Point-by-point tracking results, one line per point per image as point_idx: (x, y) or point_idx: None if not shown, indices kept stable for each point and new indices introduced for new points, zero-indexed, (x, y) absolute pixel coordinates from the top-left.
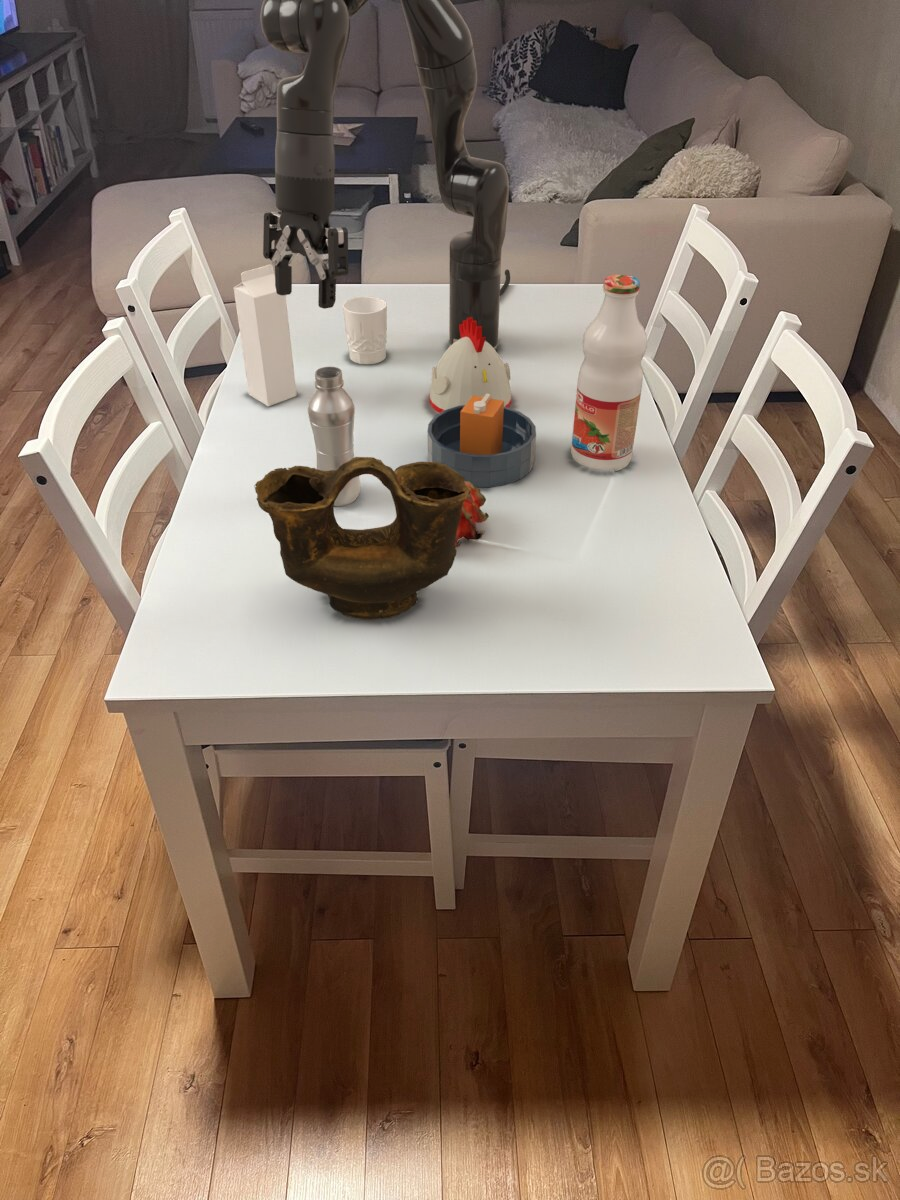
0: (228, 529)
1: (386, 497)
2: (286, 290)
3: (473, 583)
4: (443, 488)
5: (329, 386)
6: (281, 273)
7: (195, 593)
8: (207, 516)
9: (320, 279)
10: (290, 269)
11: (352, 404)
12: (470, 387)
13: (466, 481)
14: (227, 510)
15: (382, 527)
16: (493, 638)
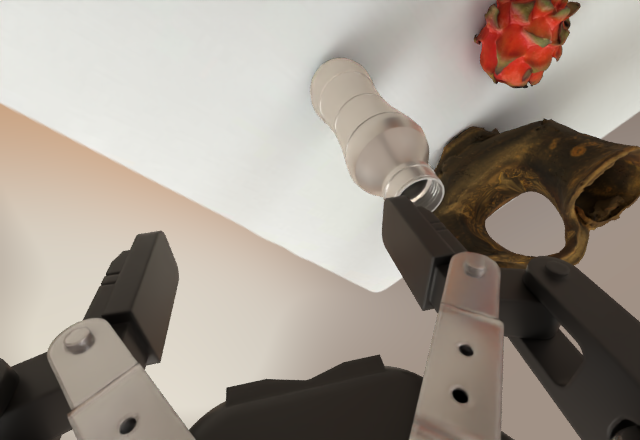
0: (289, 202)
1: (380, 28)
2: (166, 257)
3: (541, 79)
4: (598, 147)
5: (426, 200)
6: (161, 332)
7: (343, 248)
8: (254, 207)
9: (428, 306)
10: (138, 304)
11: (425, 137)
12: None
13: (561, 12)
14: (257, 189)
15: (508, 182)
16: (571, 120)
